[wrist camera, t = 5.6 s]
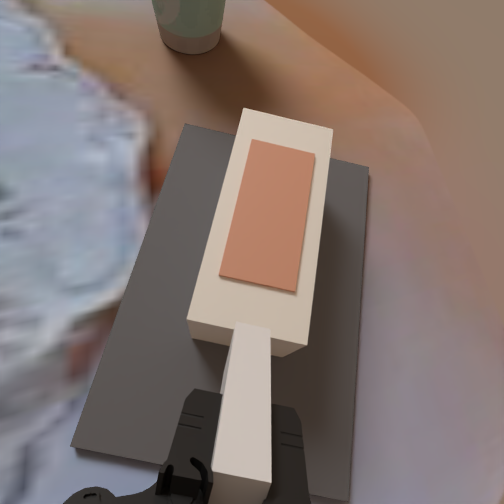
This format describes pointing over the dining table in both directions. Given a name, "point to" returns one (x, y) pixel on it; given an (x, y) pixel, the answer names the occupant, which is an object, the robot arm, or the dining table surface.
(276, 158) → the cream block
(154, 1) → the coffee cup
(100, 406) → the charcoal mat
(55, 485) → the dining table surface
